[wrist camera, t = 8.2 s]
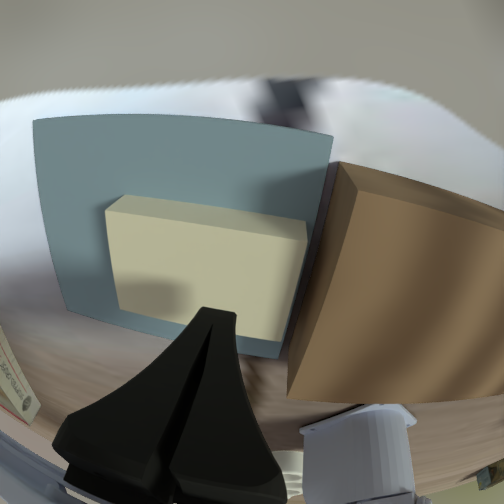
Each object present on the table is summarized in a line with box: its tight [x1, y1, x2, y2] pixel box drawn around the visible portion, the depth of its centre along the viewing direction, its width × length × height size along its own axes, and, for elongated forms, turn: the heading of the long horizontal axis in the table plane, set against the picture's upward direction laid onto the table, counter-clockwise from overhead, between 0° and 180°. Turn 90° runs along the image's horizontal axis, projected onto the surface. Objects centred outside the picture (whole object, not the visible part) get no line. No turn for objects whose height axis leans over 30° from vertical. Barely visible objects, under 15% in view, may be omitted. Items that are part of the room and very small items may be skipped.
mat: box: [33, 114, 334, 359], centre depth 16 cm, size 16×14×1 cm
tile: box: [105, 195, 308, 342], centre depth 15 cm, size 9×6×2 cm, turn 83°
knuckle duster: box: [272, 451, 303, 499], centre depth 32 cm, size 3×18×15 cm
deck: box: [286, 161, 504, 404], centre depth 14 cm, size 22×12×4 cm, turn 83°
